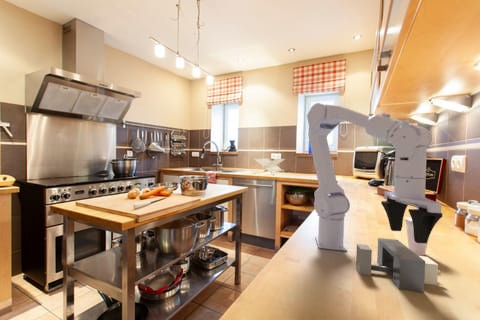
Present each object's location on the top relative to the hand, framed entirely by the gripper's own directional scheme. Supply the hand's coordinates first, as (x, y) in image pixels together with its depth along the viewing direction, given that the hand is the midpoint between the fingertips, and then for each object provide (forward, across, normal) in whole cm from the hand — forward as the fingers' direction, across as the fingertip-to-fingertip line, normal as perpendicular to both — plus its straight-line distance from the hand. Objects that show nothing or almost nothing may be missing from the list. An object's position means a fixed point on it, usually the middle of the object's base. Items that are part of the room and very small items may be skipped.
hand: (407, 236), depth 52 cm
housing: (+10, 0, -2) cm, 10 cm away
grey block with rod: (+10, -1, -2) cm, 10 cm away
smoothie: (+10, -14, +13) cm, 21 cm away
